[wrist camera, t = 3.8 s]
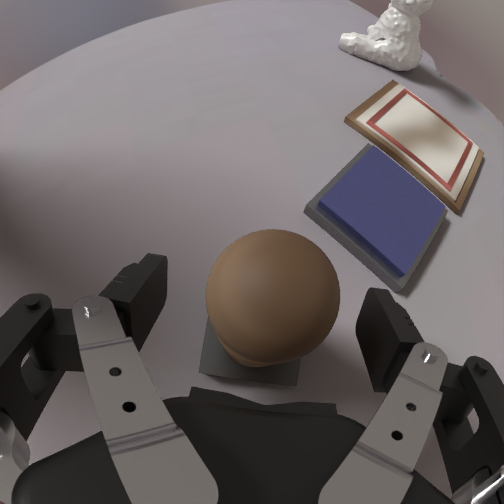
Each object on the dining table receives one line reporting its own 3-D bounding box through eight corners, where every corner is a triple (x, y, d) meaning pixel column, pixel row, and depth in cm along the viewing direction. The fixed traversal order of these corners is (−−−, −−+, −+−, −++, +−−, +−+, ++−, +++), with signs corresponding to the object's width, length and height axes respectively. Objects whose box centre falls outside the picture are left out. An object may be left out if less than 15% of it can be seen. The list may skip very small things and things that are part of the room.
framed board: (343, 121, 24) (346, 114, 23) (391, 83, 27) (393, 77, 26) (455, 214, 21) (461, 208, 20) (481, 156, 24) (485, 151, 23)
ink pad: (303, 212, 20) (308, 199, 19) (364, 151, 23) (371, 138, 21) (395, 293, 19) (407, 286, 17) (441, 217, 21) (452, 207, 20)
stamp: (201, 372, 16) (146, 371, 6) (216, 287, 18) (194, 167, 8) (291, 384, 16) (380, 400, 6) (301, 299, 18) (384, 199, 8)
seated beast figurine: (371, 32, 32) (395, -39, 20) (426, 67, 30) (460, -4, 19) (332, 46, 29) (356, -42, 18) (396, 87, 27) (437, -3, 16)
